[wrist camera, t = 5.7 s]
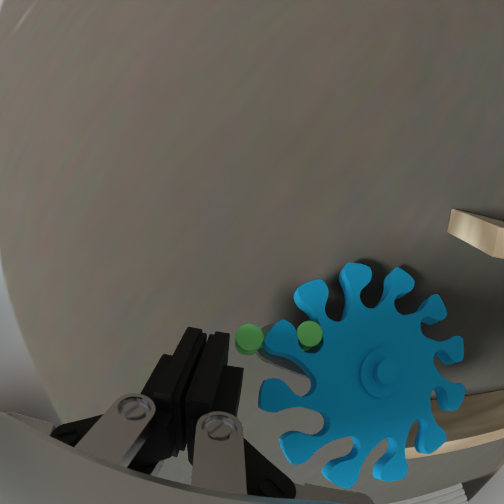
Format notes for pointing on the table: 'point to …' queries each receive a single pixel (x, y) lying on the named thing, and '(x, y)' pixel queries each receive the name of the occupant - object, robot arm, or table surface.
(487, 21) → the table surface
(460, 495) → the stack of papers
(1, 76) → the table surface
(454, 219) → the chassis bay
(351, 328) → the gear
